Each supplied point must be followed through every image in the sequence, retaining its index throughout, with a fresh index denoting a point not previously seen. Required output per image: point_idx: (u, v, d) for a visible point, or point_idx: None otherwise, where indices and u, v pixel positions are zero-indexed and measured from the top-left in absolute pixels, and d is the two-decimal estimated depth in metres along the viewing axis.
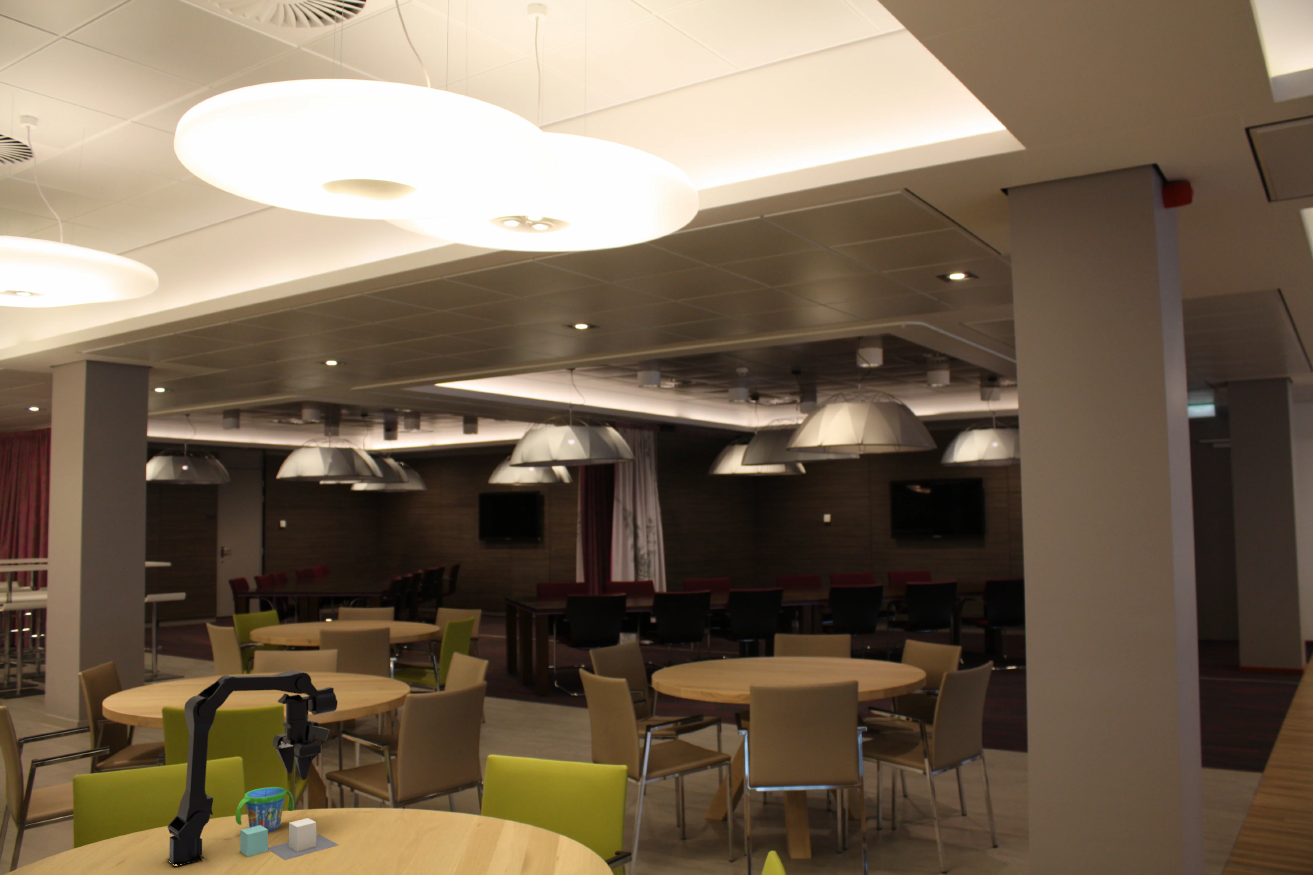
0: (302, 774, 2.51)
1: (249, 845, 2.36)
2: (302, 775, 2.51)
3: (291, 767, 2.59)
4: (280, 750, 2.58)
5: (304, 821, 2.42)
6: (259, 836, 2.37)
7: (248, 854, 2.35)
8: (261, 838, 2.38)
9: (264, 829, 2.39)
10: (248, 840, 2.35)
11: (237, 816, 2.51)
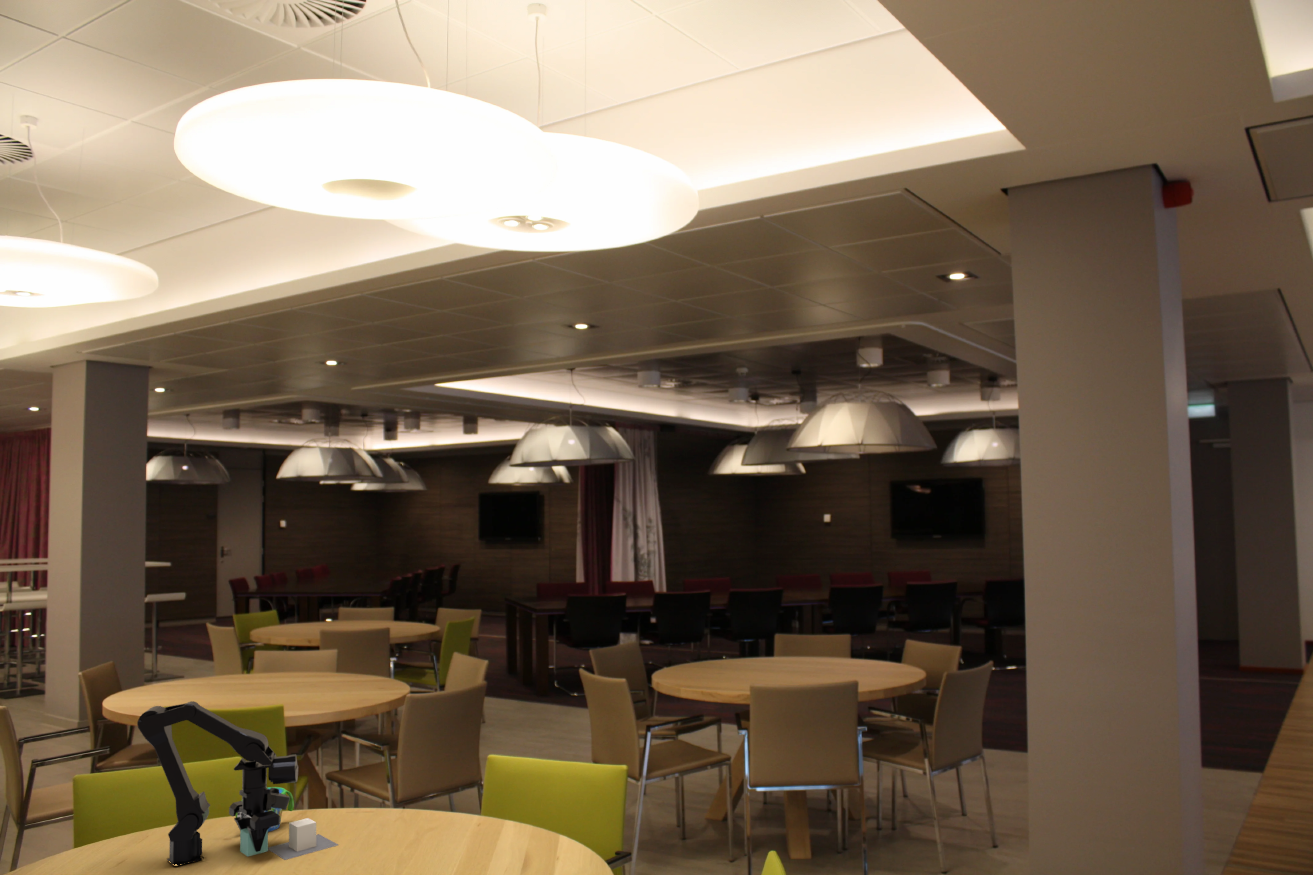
0: (256, 845, 2.36)
1: (249, 845, 2.36)
2: (256, 846, 2.36)
3: None
4: (239, 821, 2.40)
5: (304, 821, 2.42)
6: None
7: (248, 854, 2.35)
8: None
9: None
10: (248, 840, 2.35)
11: None
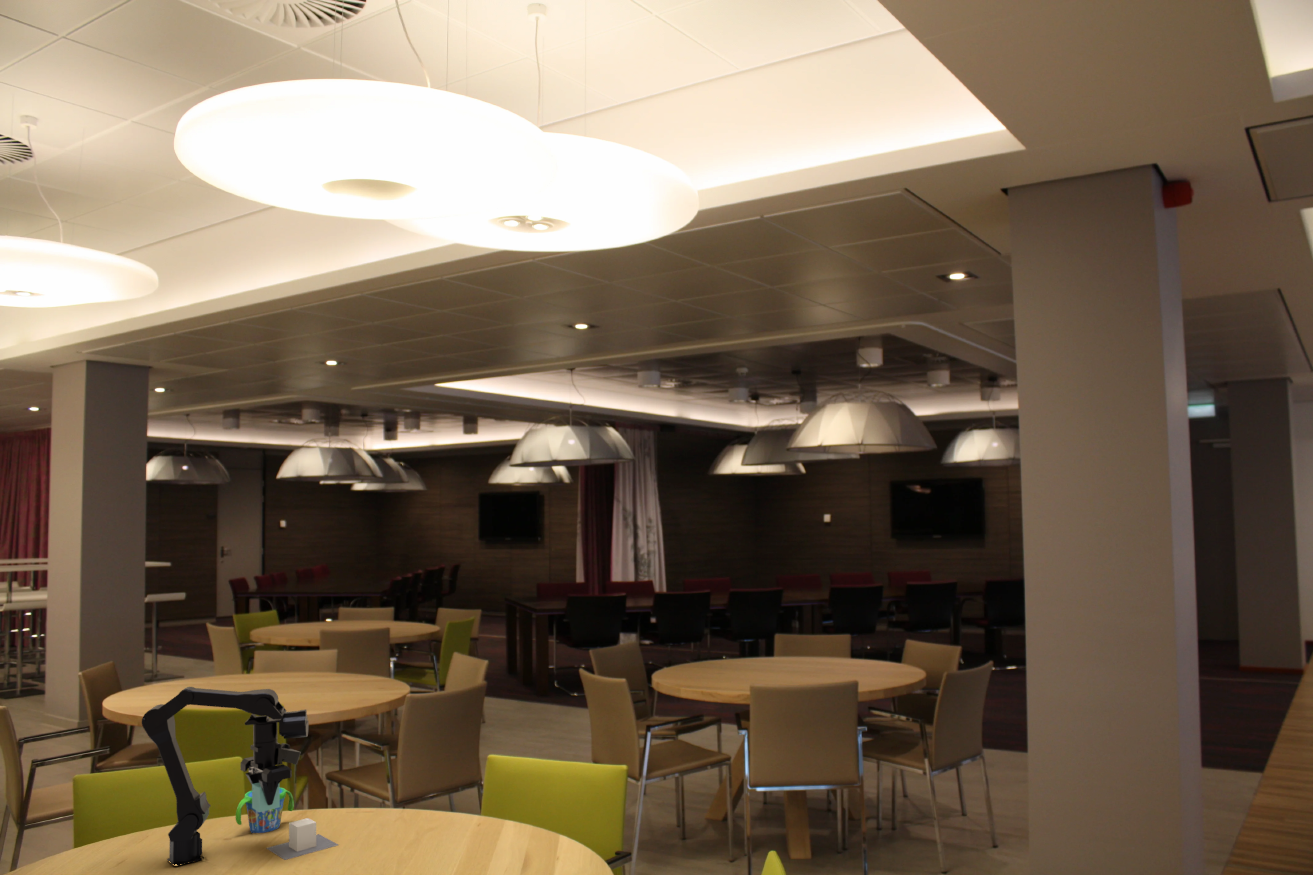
0: (268, 799, 2.37)
1: (261, 798, 2.37)
2: (268, 800, 2.37)
3: None
4: (251, 776, 2.41)
5: (304, 821, 2.42)
6: None
7: (260, 807, 2.37)
8: None
9: None
10: (260, 794, 2.37)
11: (237, 816, 2.51)
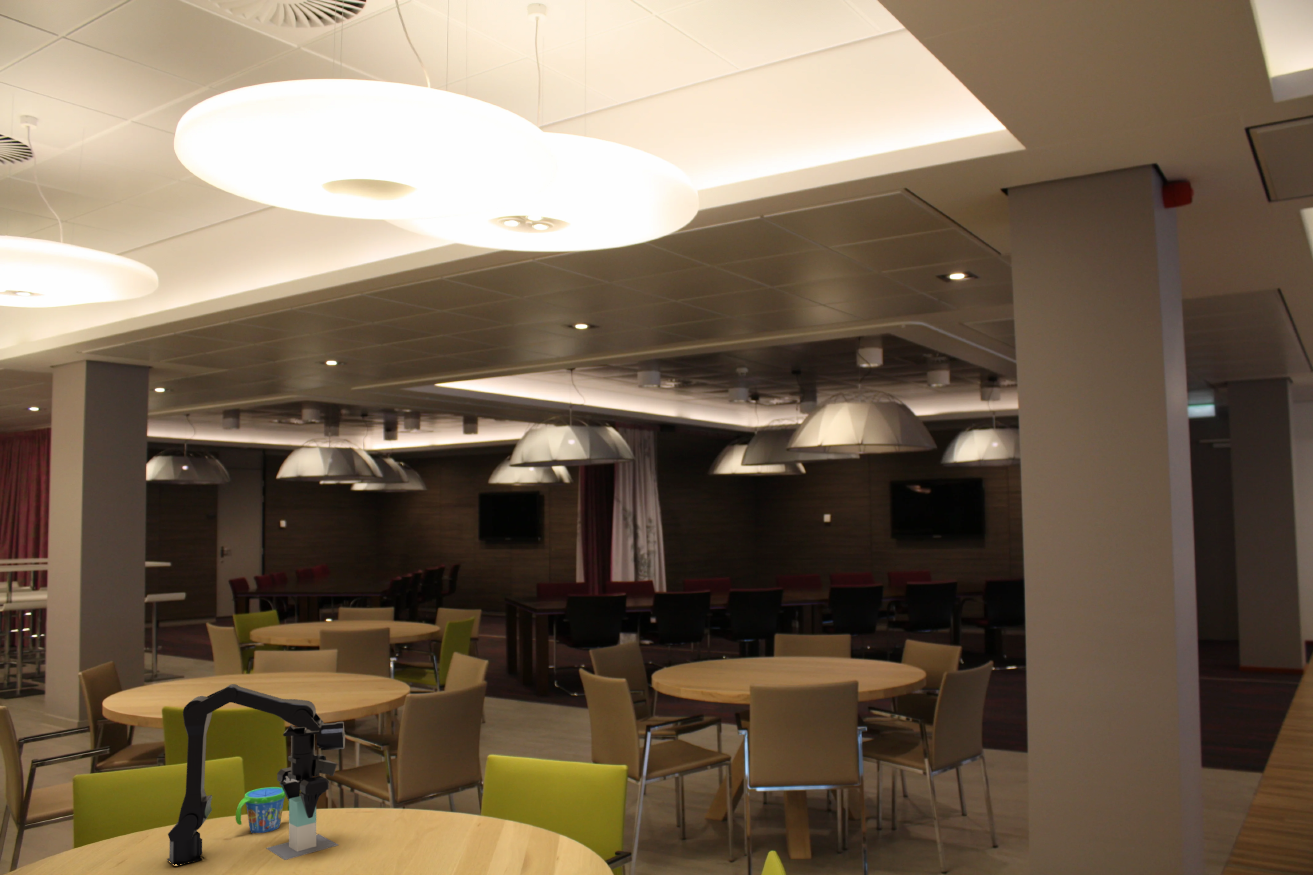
0: (308, 812, 2.38)
1: (298, 813, 2.39)
2: (308, 813, 2.38)
3: None
4: (285, 785, 2.44)
5: None
6: None
7: (298, 822, 2.38)
8: None
9: None
10: (297, 809, 2.39)
11: (237, 816, 2.51)
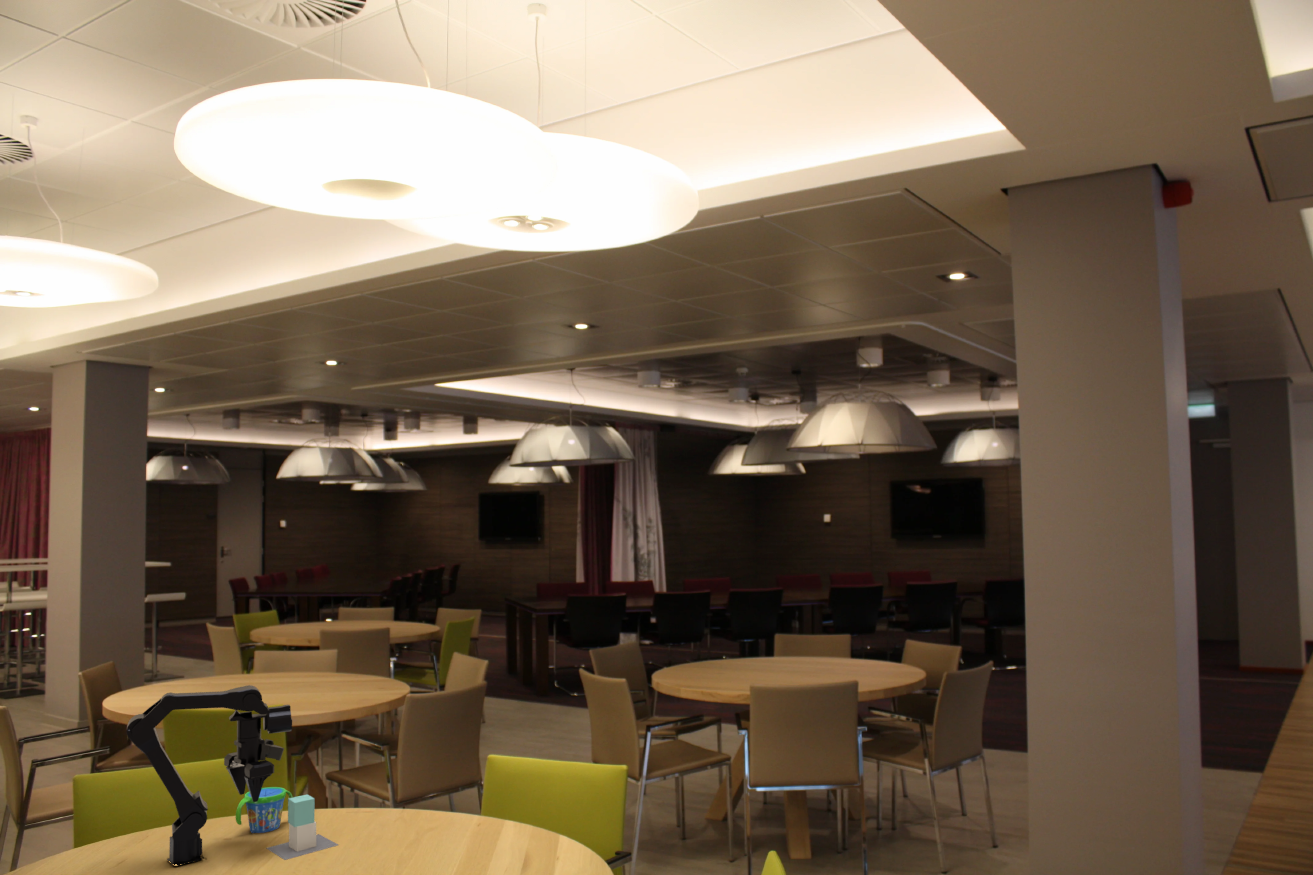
0: (253, 796, 2.38)
1: (296, 813, 2.39)
2: (253, 797, 2.38)
3: (243, 788, 2.46)
4: (231, 770, 2.45)
5: None
6: (306, 804, 2.40)
7: (295, 822, 2.38)
8: (307, 807, 2.41)
9: (311, 798, 2.42)
10: (295, 809, 2.39)
11: (237, 816, 2.51)
